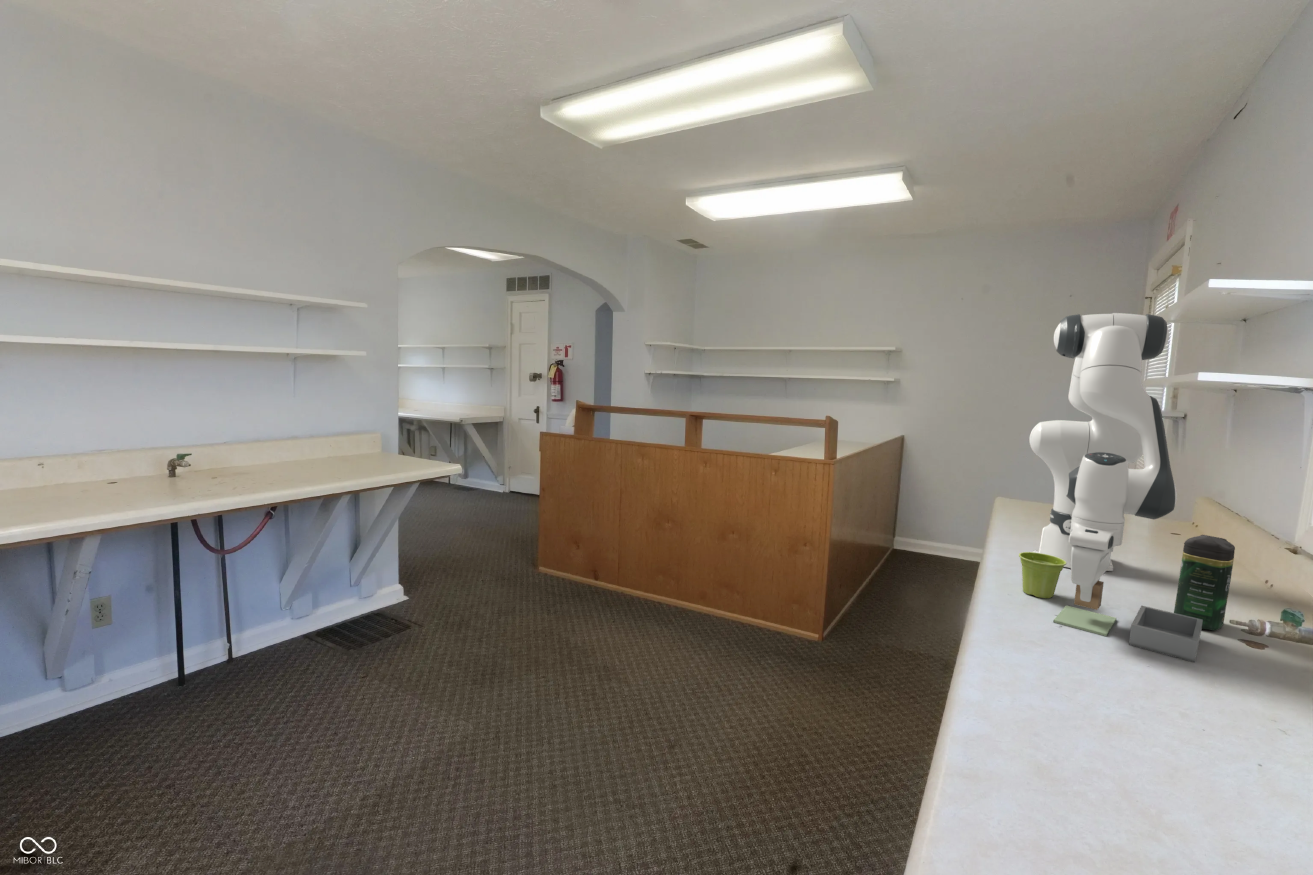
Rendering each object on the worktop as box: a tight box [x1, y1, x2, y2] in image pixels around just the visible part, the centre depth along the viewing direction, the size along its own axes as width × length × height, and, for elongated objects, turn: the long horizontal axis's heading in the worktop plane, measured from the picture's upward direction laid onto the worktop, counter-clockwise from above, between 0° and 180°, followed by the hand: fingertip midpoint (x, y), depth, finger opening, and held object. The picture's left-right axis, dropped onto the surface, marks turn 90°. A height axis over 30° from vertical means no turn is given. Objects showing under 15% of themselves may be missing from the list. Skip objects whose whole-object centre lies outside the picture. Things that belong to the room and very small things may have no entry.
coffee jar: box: [1173, 534, 1236, 631], centre depth 129 cm, size 10×8×19 cm
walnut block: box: [1073, 580, 1105, 611], centre depth 128 cm, size 4×4×5 cm
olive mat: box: [1052, 605, 1117, 637], centre depth 129 cm, size 12×9×1 cm
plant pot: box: [1018, 551, 1066, 599], centre depth 144 cm, size 9×9×9 cm
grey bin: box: [1128, 605, 1203, 663], centre depth 120 cm, size 15×10×4 cm, turn 136°
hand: (1088, 597), depth 129 cm, fingers closed on walnut block, 4 cm apart
